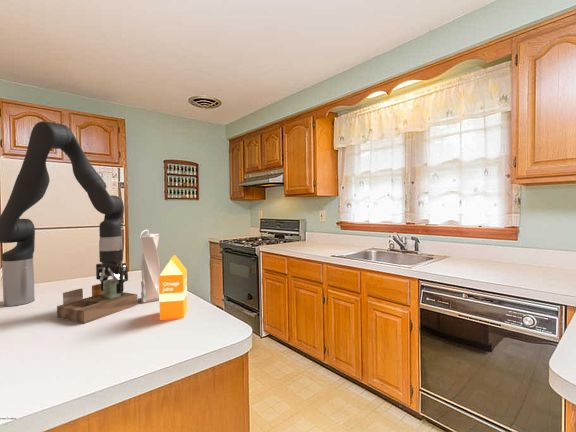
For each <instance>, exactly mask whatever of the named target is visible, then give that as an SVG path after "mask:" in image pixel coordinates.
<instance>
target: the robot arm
mask: <svg viewBox="0 0 576 432" xmlns="http://www.w3.org/2000/svg"><path fill="white" fill-rule="evenodd" d="M52 149H57V150H61V151H62V152H63V153H64V154H65V155H66V156H67V157H68V159H69V160H70V163H71V166H72V173H73V176H74V178H75V180H76V181H77V182H78V183H79V185H80V186H81V188H83V190H84V191H85V192H86V193H87V196H88V198H89V200H90V203H91V205H92V207H93V208H94V209H95V210H96V211H97V212H98V213H100V214H102V215H104V219H103V221H101V222H100V223H99V227H98V229H99V232H98V233H99V241H98V251H99V252H98V253H99V259H98V260H99V263H96V264H95V273H96V274H95V277H96V280H99V283H100V284H101V291H103V281H105V280H109V277H112V279H115V281H116V283H117V284H116V289H117V294H120V293H123V292H124V287H125V286H124V283H125V282H127V281H129V275H128V274H129V273H128V265H127V264H124V265H122V263H121V261H123V260H124V255H123V251H124V249H123V247H124V246H123V239H122V238H123V237H122V221H123V219H124V218H123V217H124V212H125V205H124V201H123V199H122V198H121V197H119V196H117V195H110V193H109V192H108V190H107V184H106V182H105V180H104V179H103V178H102V176H101V175H99V173H98V172H97V170H96V169H95V168H94V166H92V164H91V162H90V161H89V159H88V158H87V156H86V153H85V152H84V150H83V149H82V146H81V145H80V143H79V141H78V140H77V137H76V136H75V134H74V133H73V131H72V130H71V128H70V127H68V126H67V125H65V124H62V123H60V122H59V123H58V122H52V121H51V122H50V121H39V122H37V123H35V125H33V127H32V129H31V132H30V136H29V140H28V144H27V149H26V152H25V156H24V158H23V161H22V164H21V167H20V170H19V173H18V174H17V176H16V180H15V182H14V184H13V187H12V190H11V193H10V195H9V198H8V200H7V202H6V205H5V207H4V209H3V211H2V212H1V214H0V243H1V244H11V243H16V244H15V246H14V247H12V248H11V249H9V250H7V251H5V252H3V253H1V269H2V270H1V272H2V273H1V276H2V296H3V297H2V300H3V306H5V307H12V306H13V307H14V306H20V305H25V304H29V303H31V302H32V303H33V302H34V301H35V297H36V296H35V275H34V274H35V272H34V271H35V270H34V252H35V247H36V246H35V245H36V244H35V240H36V239H35V238H36V237H35V236H36V229H35V225H34V223H33V221H32V220H31V219H29V218H21V217H22V215H23V214H24V213H25V212H27V211H28V210H29V209H30V208H33V206H35V205H36V204H37V203H39V202H40V201H41V200H42V199H43V197H44V196H45V194H46V193H47V190H48V187H49V184H50V174H49V172H48V167H47V160H48V157H49V154H50V152H51V150H52ZM119 279H120V280H119Z"/></svg>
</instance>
